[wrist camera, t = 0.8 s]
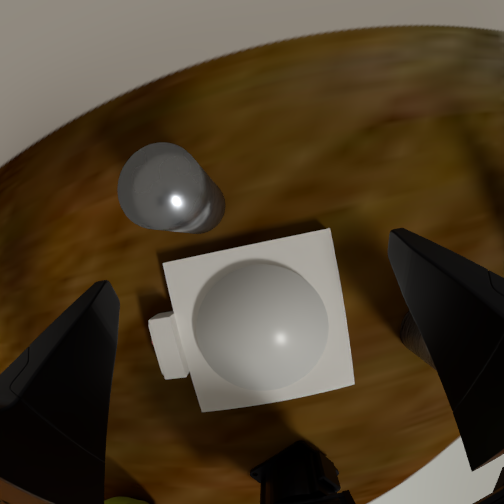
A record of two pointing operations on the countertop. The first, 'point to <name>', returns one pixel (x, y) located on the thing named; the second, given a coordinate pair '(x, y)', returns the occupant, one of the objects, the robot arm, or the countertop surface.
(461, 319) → the robot arm
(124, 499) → the fruit
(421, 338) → the cylinder
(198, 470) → the countertop surface
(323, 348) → the scale
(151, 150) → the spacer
